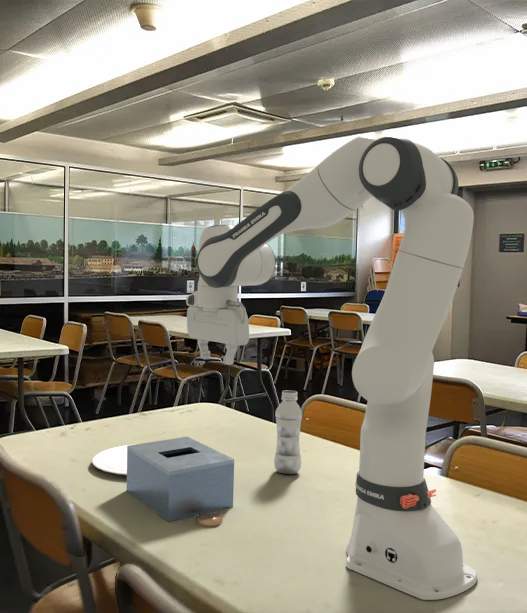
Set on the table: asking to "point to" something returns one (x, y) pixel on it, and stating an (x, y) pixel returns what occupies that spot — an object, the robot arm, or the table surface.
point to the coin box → (180, 477)
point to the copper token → (209, 519)
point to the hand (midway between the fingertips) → (216, 361)
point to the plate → (112, 460)
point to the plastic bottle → (288, 434)
